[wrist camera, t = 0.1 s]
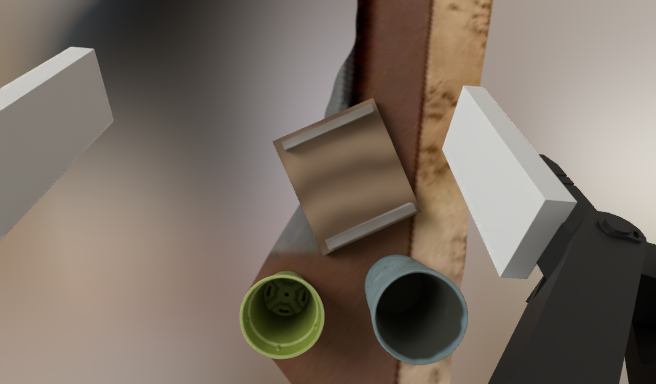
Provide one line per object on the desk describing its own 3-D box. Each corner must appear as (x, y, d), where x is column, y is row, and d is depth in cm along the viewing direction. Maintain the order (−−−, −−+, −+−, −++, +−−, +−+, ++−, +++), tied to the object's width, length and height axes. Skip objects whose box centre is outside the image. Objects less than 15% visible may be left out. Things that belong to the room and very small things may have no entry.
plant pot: (246, 323, 50) (234, 354, 42) (255, 254, 50) (245, 270, 41) (315, 331, 51) (318, 363, 42) (325, 262, 51) (329, 280, 42)
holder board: (417, 210, 51) (426, 212, 48) (322, 253, 51) (324, 258, 47) (370, 100, 50) (375, 94, 47) (273, 142, 49) (271, 139, 46)
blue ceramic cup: (433, 316, 52) (472, 358, 40) (361, 326, 51) (378, 372, 39) (426, 243, 51) (463, 263, 39) (352, 253, 51) (367, 276, 39)
